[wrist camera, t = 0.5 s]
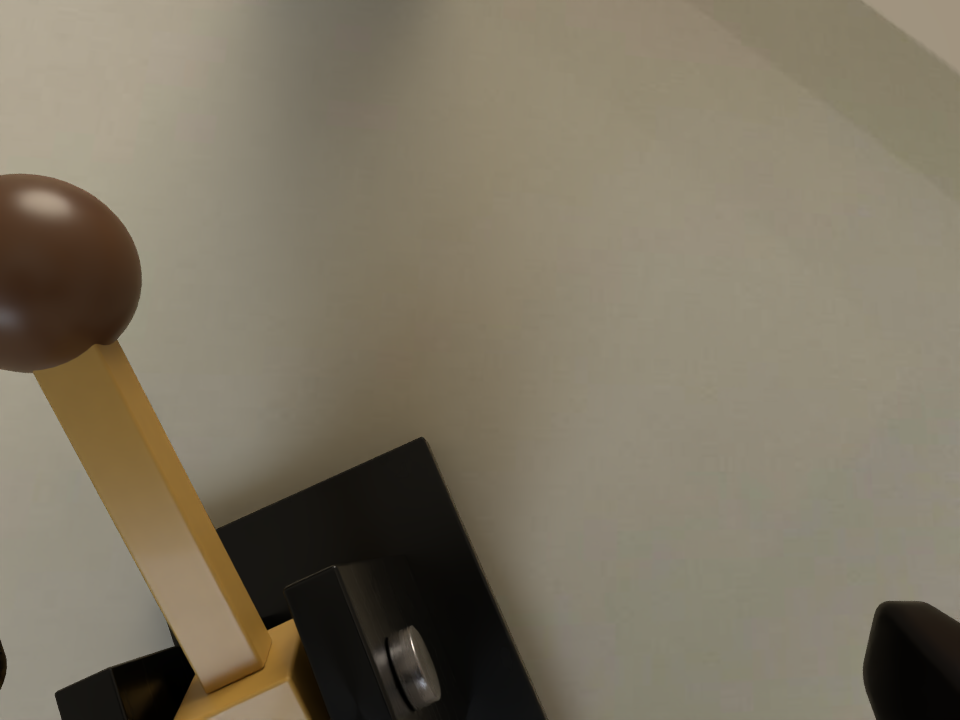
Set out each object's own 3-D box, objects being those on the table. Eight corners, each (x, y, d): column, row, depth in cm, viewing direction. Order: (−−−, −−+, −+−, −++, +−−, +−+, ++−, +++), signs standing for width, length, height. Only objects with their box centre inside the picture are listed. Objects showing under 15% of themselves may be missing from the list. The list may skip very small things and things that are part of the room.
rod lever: (-53, 227, 14) (-187, 215, 10) (115, 157, 14) (34, 124, 11) (244, 776, 15) (206, 906, 12) (388, 707, 16) (387, 819, 12)
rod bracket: (164, 559, 22) (-92, 575, 13) (427, 440, 23) (368, 371, 13) (283, 913, 20) (79, 1252, 11) (571, 773, 21) (625, 974, 11)
